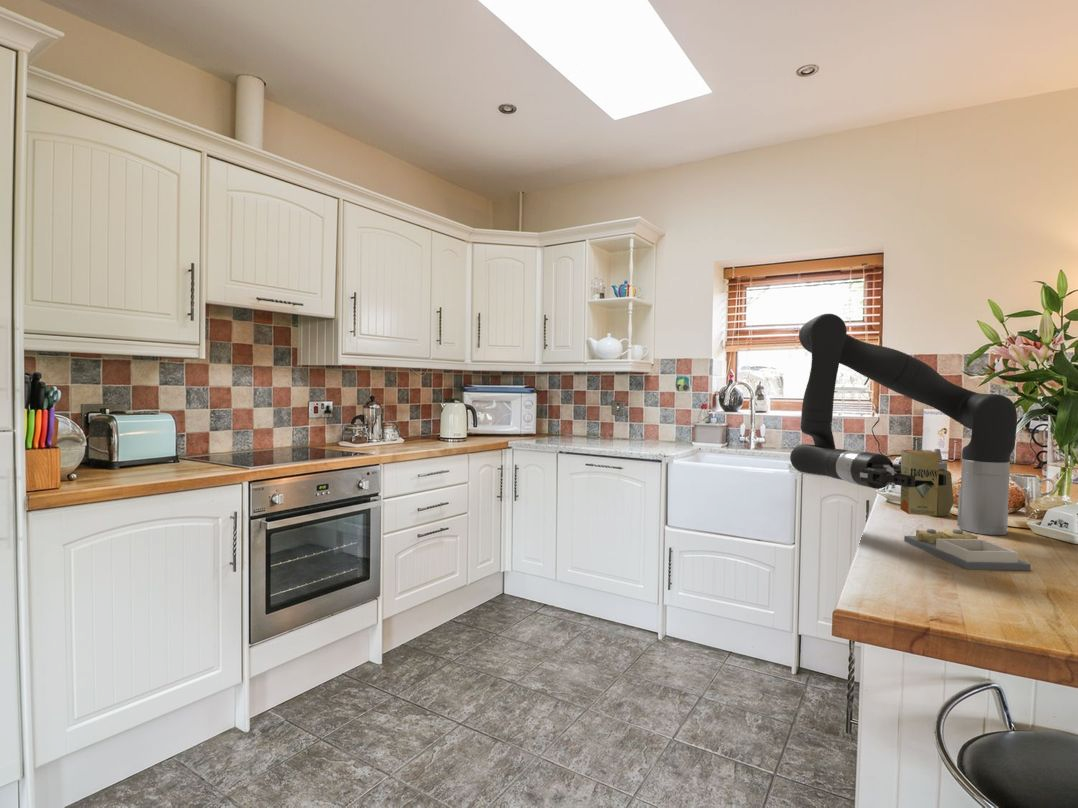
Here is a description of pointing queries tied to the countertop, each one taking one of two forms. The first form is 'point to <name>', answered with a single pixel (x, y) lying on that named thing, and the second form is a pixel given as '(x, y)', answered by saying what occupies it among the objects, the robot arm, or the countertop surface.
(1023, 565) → the gear board
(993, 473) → the robot arm
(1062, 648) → the countertop surface
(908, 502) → the shoe polish box
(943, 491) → the squeeze bottle
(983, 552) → the square socket
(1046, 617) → the countertop surface
